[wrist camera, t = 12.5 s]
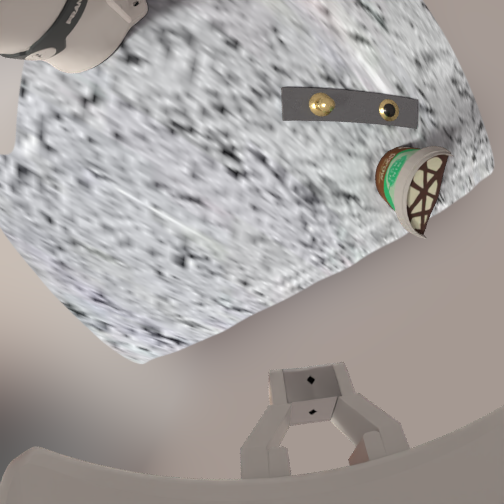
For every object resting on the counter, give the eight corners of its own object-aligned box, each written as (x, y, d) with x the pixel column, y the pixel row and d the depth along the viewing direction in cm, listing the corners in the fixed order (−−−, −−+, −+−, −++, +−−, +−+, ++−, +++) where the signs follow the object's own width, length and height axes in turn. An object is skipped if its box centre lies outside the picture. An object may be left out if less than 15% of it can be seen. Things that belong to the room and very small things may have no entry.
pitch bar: (281, 87, 33) (285, 85, 29) (415, 100, 33) (428, 100, 30) (282, 120, 35) (287, 121, 32) (414, 128, 35) (428, 131, 32)
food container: (379, 126, 35) (418, 134, 26) (413, 139, 36) (454, 151, 27) (358, 206, 41) (388, 234, 32) (391, 214, 41) (425, 242, 33)
